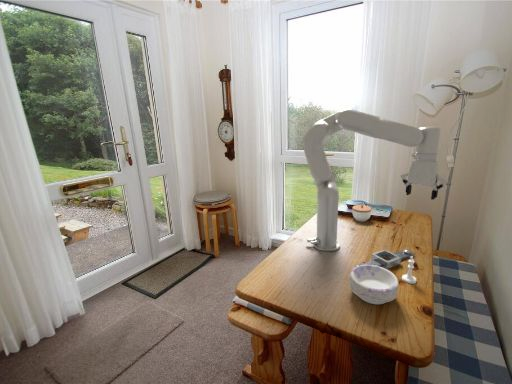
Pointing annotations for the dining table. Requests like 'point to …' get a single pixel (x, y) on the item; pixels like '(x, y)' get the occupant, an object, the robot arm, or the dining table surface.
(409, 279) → the chess piece
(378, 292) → the paper bowls
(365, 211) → the lidded jar
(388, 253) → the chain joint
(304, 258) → the dining table surface
